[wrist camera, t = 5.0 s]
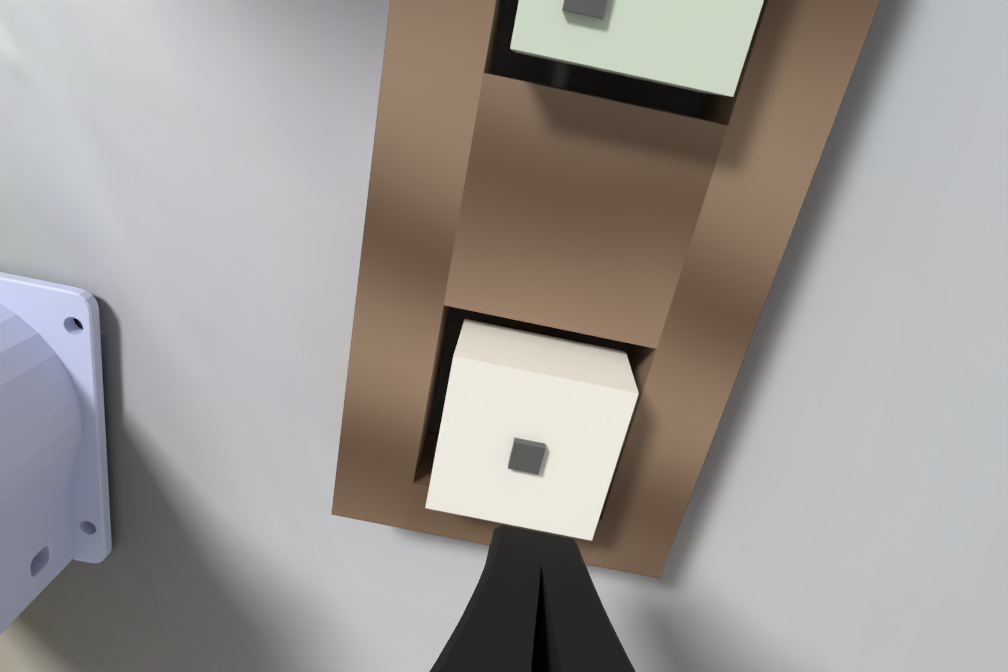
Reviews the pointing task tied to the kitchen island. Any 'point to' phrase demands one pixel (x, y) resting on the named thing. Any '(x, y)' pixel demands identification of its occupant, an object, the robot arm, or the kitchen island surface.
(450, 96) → the button panel
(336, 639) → the kitchen island surface
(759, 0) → the two dot button
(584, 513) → the one dot button
